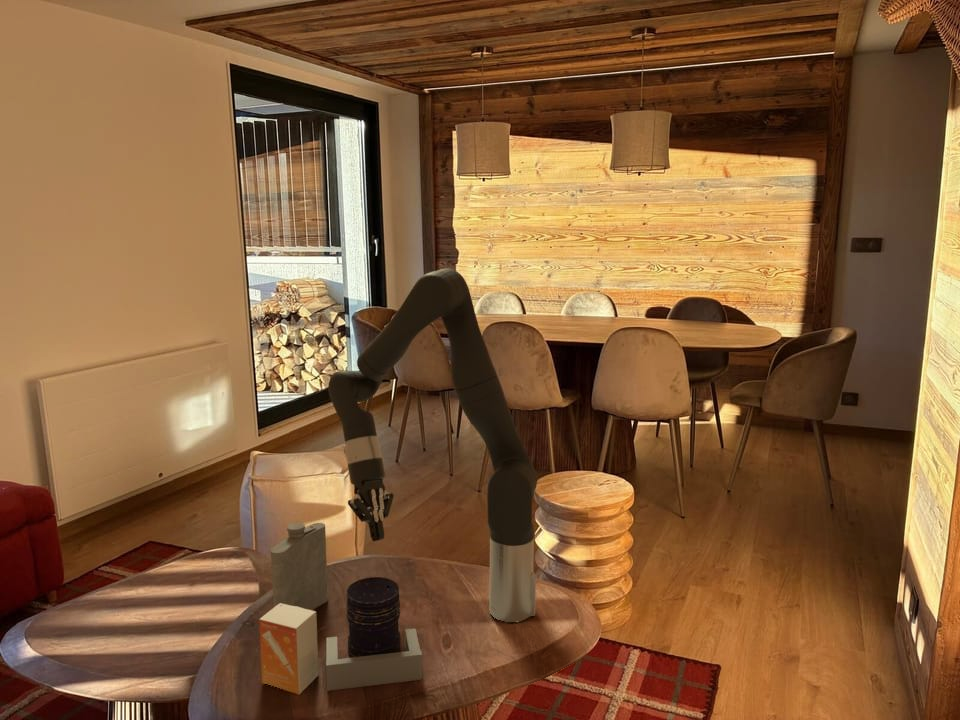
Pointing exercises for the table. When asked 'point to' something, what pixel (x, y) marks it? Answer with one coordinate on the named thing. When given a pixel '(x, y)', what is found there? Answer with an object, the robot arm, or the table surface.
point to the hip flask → (300, 567)
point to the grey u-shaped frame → (373, 666)
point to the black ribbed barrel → (373, 617)
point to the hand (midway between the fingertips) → (378, 540)
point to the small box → (289, 647)
